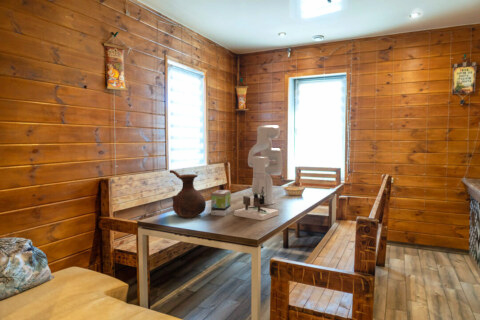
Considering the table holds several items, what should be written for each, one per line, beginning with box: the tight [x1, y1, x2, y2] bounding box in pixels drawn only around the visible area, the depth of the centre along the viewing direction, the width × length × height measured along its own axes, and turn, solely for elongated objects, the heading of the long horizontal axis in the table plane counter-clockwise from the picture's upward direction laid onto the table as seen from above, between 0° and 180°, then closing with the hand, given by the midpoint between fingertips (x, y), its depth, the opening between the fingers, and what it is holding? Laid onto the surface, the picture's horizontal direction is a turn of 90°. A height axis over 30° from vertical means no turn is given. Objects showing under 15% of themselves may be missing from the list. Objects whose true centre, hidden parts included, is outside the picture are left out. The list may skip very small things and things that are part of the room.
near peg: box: [253, 197, 266, 212], centre depth 202 cm, size 9×7×8 cm
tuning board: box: [233, 205, 279, 221], centre depth 207 cm, size 19×22×3 cm
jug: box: [169, 169, 207, 219], centre depth 205 cm, size 22×22×30 cm
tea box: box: [210, 189, 232, 217], centre depth 212 cm, size 15×10×15 cm
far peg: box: [242, 195, 258, 210], centre depth 210 cm, size 9×7×8 cm
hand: (259, 203), depth 205 cm, fingers open, 6 cm apart
